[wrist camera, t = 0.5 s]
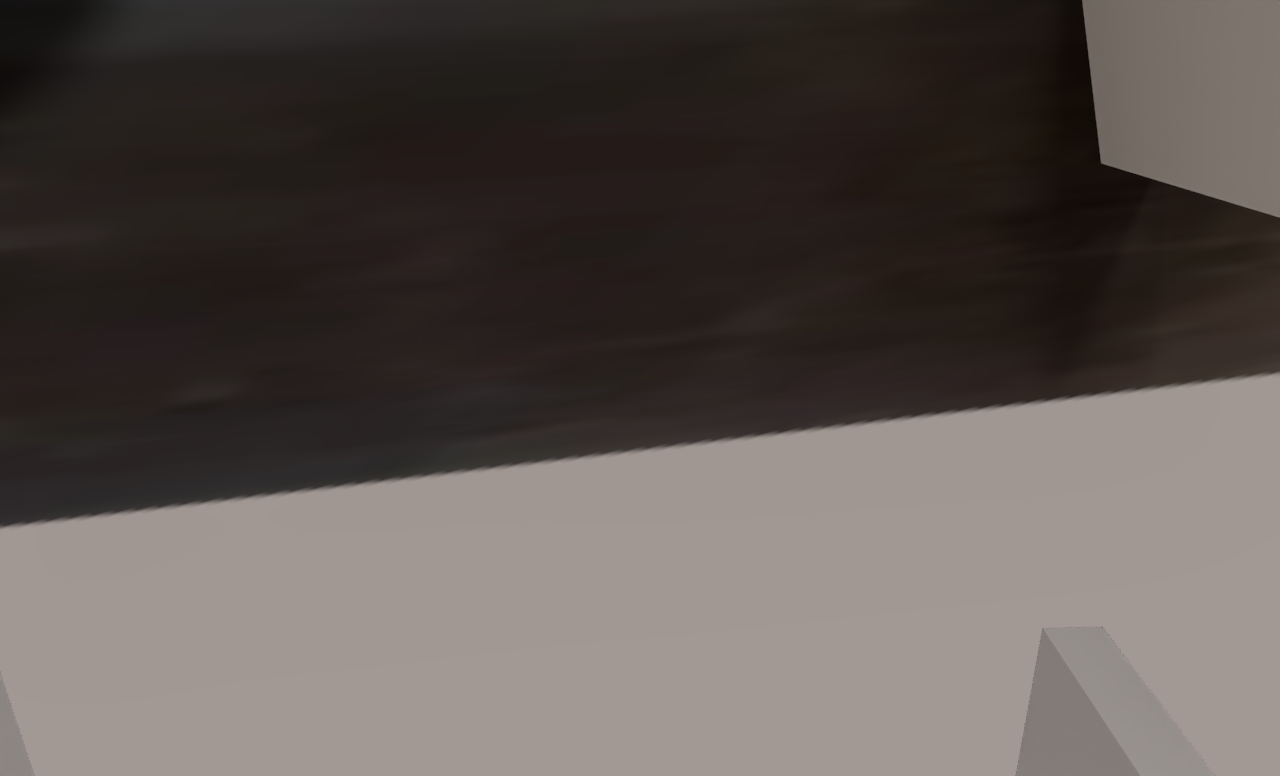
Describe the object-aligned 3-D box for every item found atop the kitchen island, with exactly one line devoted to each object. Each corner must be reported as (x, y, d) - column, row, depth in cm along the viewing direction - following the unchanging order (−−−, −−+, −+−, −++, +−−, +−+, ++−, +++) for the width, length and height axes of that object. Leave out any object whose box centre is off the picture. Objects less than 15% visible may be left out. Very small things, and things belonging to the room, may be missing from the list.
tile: (1100, 163, 36) (1322, 230, 25) (1067, -123, 33) (1308, -191, 22) (1172, 142, 36) (1427, 200, 25) (1146, -148, 33) (1430, -230, 21)
